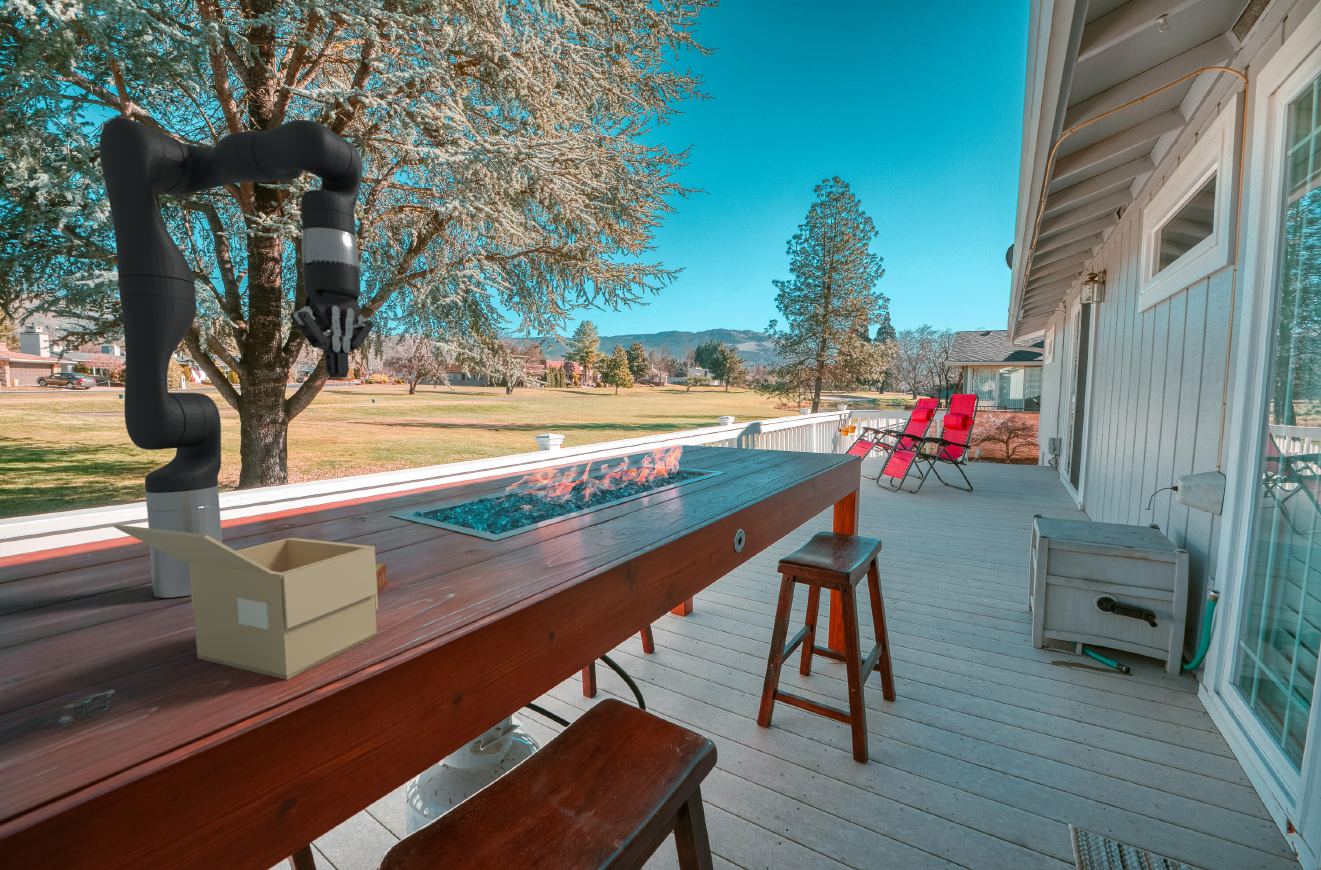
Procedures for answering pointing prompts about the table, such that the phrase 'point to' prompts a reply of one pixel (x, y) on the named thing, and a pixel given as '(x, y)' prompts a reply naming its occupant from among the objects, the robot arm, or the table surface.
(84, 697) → the table surface
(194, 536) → the near flap
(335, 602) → the kraft box
